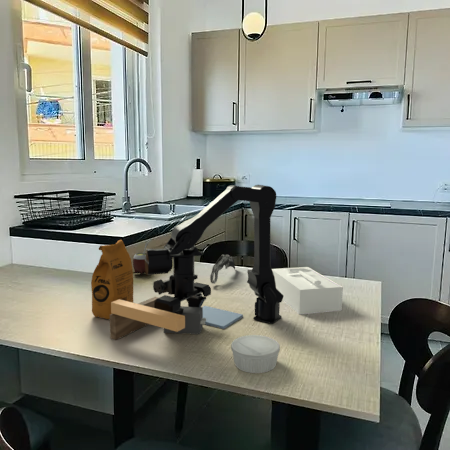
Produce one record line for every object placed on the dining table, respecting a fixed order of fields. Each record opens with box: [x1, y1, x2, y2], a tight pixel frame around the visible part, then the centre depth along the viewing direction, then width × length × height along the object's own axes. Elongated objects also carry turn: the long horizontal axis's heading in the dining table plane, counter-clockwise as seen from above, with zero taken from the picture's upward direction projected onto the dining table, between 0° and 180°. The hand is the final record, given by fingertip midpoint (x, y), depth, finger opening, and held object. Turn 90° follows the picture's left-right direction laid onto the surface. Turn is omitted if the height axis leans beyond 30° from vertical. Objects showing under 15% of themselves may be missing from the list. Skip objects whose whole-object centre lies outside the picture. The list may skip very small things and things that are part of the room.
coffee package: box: [90, 239, 134, 321], centre depth 130 cm, size 10×12×22 cm
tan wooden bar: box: [111, 299, 185, 332], centre depth 108 cm, size 22×3×3 cm, turn 58°
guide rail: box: [109, 296, 159, 341], centre depth 120 cm, size 2×18×6 cm, turn 148°
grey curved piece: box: [209, 254, 236, 285], centre depth 171 cm, size 28×2×10 cm, turn 161°
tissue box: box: [271, 266, 344, 315], centre depth 145 cm, size 14×25×11 cm, turn 14°
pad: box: [202, 305, 244, 330], centre depth 128 cm, size 14×11×1 cm
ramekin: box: [230, 334, 281, 374], centre depth 100 cm, size 11×11×5 cm
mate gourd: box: [132, 239, 152, 276], centre depth 176 cm, size 8×8×15 cm
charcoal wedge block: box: [163, 305, 206, 335], centre depth 119 cm, size 11×5×6 cm, turn 84°
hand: (184, 326), depth 119 cm, fingers closed on charcoal wedge block, 7 cm apart
